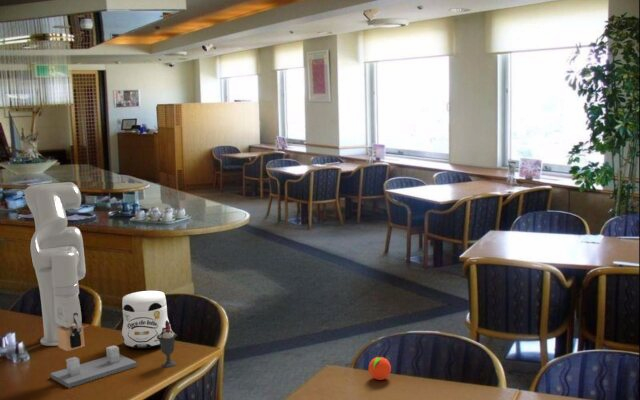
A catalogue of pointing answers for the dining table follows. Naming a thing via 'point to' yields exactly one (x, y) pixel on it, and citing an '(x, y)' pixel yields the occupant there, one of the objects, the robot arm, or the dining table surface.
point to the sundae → (167, 344)
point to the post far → (113, 354)
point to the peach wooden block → (67, 338)
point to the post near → (73, 366)
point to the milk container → (144, 318)
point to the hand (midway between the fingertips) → (71, 344)
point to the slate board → (93, 371)
